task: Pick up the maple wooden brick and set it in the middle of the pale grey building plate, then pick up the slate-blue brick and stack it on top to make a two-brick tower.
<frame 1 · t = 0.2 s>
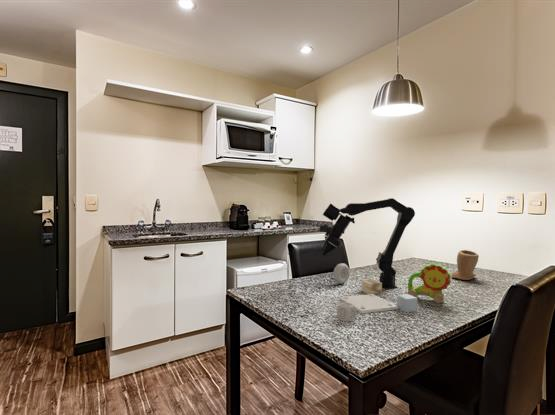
hand: (322, 253, 153), 15 cm above the table, tool tilted 30°, fingers open, 9 cm apart
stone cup: (465, 278, 167), on the table
donut: (341, 284, 153), on the table
slate brick: (406, 309, 119), on the table
die: (346, 319, 108), on the table
maple brick: (371, 292, 140), on the table
toy lion: (428, 300, 131), on the table
building plate: (367, 304, 124), on the table
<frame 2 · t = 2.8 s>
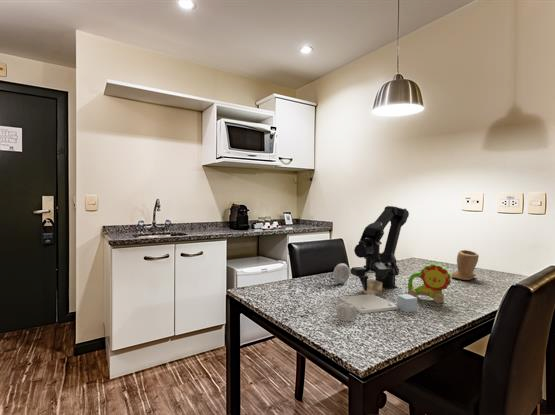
hand: (371, 290, 140), 1 cm above the table, tool pointing down, fingers closed on maple brick, 6 cm apart
maple brick: (371, 292, 139), on the table, touching gripper
everything else where it was.
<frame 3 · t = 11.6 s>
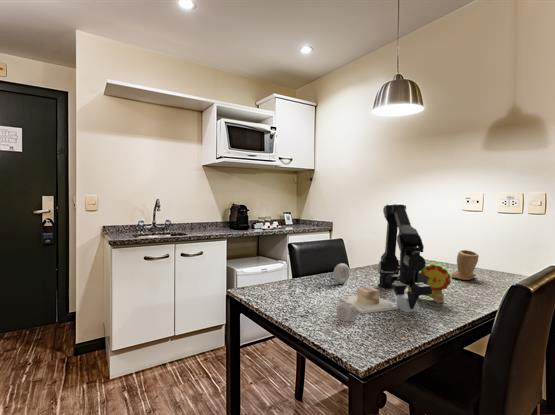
hand: (406, 306, 119), 1 cm above the table, tool pointing down, fingers closed on slate brick, 5 cm apart
slate brick: (406, 309, 119), on the table, touching gripper
maple brick: (368, 301, 124), point 1 cm above the table, touching building plate
everything else where it was.
when the fingers open (8 cm above the table, at t = 16.0 s): slate brick stays where it is, resting on maple brick.
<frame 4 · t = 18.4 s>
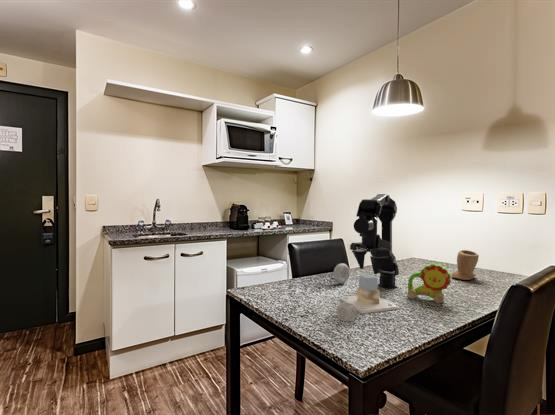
hand: (368, 271, 123), 13 cm above the table, tool pointing down, fingers open, 9 cm apart
slate brick: (367, 289, 124), point 6 cm above the table, touching maple brick
maple brick: (368, 301, 124), point 1 cm above the table, touching building plate, slate brick
everything else where it was.
at the end: maple brick 0.2 cm off-centre on the building plate, point 1.0 cm above the building plate's base; slate brick 0.2 cm off-centre on the maple brick, point 5.0 cm above the maple brick's base; slate brick touching maple brick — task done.
